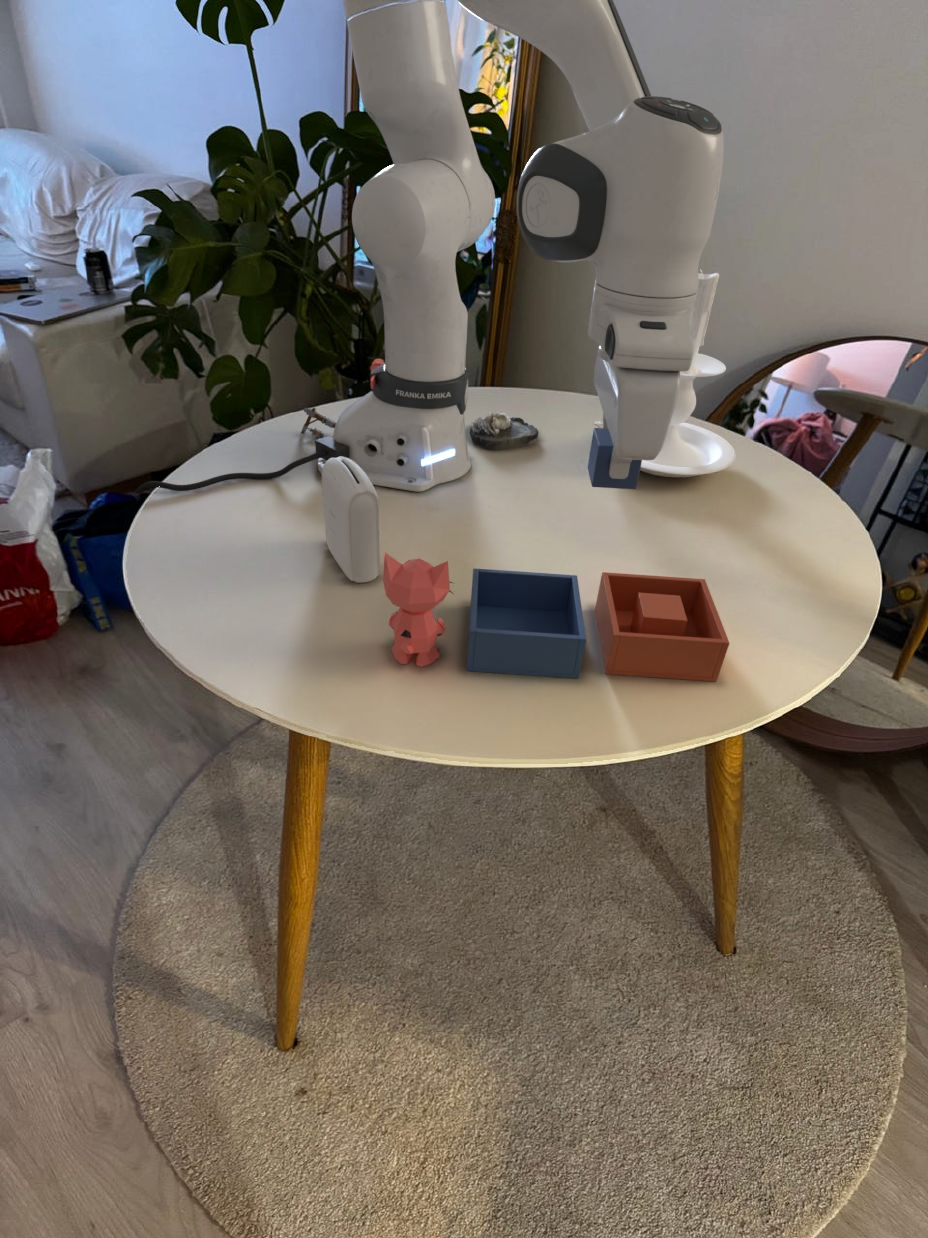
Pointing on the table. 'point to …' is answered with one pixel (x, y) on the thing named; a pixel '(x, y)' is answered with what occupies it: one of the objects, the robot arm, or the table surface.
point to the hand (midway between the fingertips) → (613, 463)
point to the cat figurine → (415, 607)
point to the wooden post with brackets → (314, 414)
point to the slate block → (600, 462)
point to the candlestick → (693, 407)
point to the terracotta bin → (659, 653)
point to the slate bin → (525, 624)
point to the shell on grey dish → (502, 432)
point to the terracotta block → (659, 615)
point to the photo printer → (351, 519)
